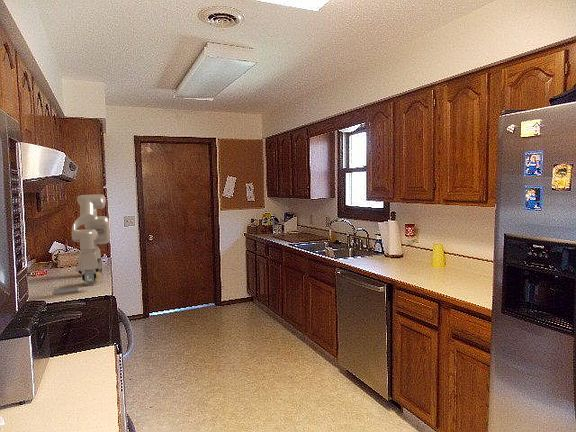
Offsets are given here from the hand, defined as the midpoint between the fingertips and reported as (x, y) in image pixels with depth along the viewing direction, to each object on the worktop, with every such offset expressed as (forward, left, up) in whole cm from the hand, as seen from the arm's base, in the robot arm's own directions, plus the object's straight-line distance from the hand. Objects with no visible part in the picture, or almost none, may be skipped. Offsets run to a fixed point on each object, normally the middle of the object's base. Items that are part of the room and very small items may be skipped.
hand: (89, 279), depth 239 cm
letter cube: (0, 0, -1) cm, 1 cm away
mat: (-7, -13, -7) cm, 16 cm away
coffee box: (-17, +3, -7) cm, 19 cm away
